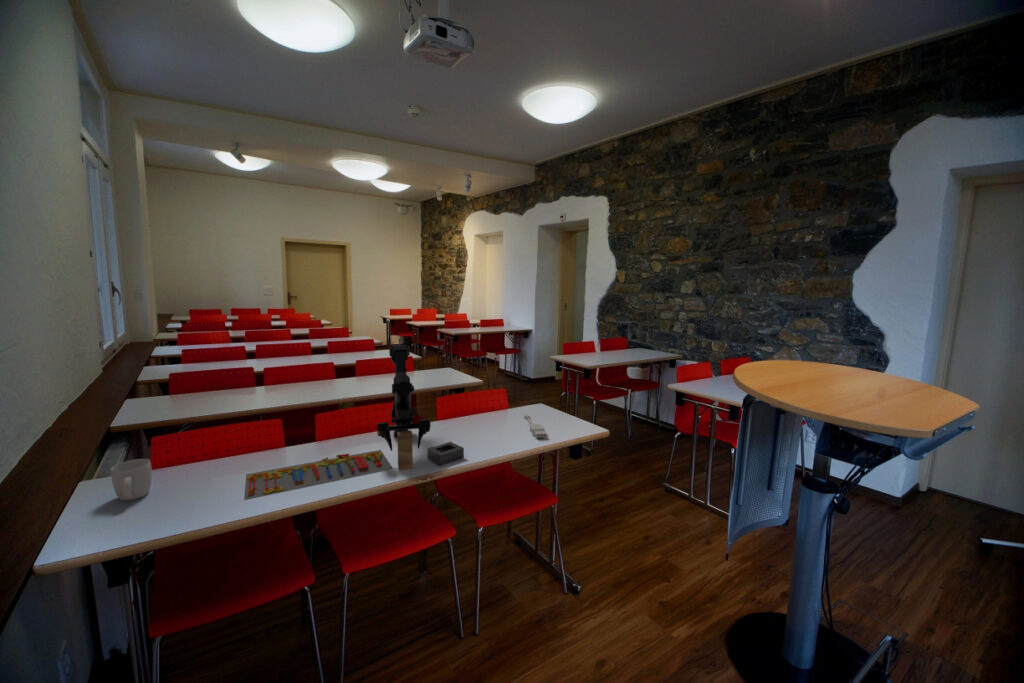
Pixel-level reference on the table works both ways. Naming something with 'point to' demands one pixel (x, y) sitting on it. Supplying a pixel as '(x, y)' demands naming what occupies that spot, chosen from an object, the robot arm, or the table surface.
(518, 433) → the table surface
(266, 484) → the gear board
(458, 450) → the grey block holder
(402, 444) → the brown wooden block
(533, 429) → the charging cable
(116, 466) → the mug
